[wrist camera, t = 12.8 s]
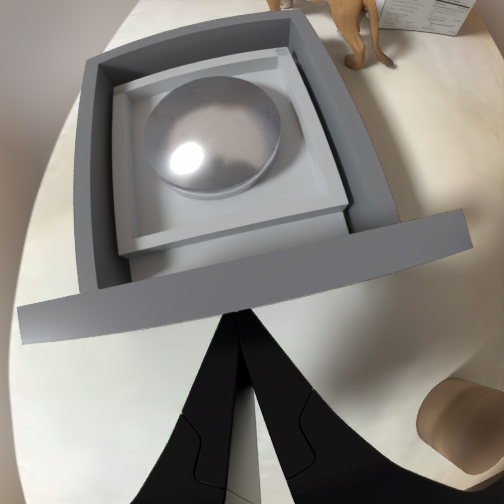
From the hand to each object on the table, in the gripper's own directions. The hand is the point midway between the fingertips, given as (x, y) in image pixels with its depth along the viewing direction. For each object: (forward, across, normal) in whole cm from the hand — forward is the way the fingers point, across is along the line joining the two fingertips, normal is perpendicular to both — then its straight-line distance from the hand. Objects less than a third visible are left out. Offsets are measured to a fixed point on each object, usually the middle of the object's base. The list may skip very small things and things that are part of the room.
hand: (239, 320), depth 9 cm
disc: (+10, 0, -3) cm, 11 cm away
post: (-2, -10, +11) cm, 15 cm away
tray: (+10, 0, -1) cm, 10 cm away
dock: (+11, 0, -2) cm, 12 cm away
